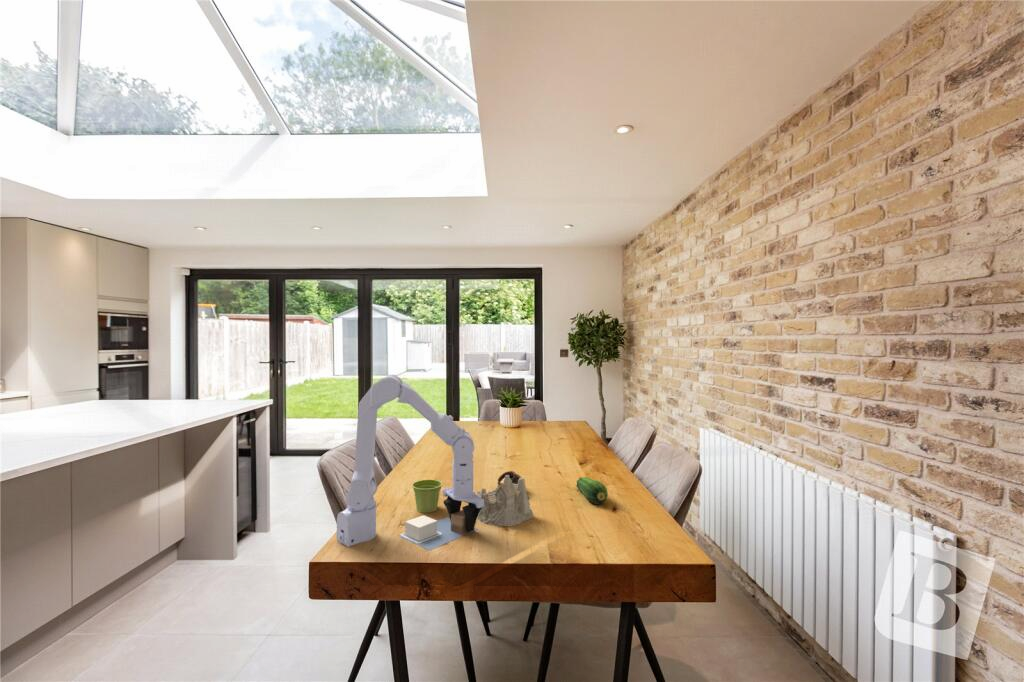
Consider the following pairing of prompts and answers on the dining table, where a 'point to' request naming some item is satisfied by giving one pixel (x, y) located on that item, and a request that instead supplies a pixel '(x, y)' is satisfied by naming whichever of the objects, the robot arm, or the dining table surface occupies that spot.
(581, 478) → the vegetable
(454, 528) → the walnut block
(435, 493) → the plant pot
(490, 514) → the jagged grey rock
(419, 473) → the dining table surface
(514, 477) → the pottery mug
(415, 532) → the cream base block
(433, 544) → the board
